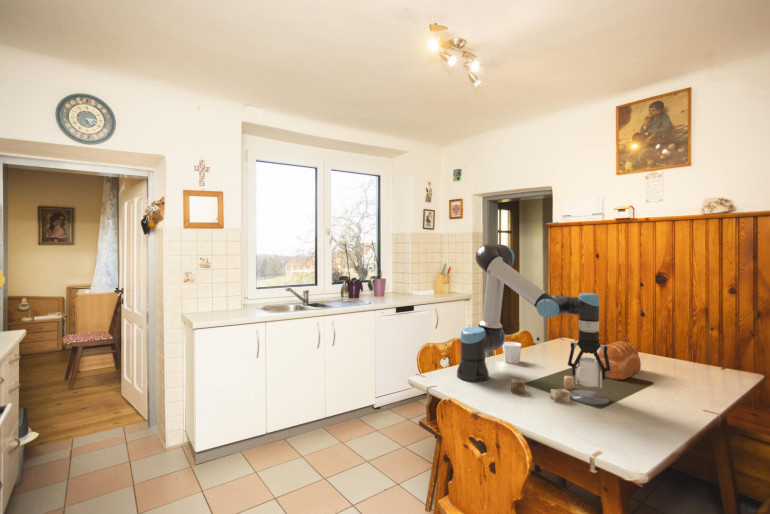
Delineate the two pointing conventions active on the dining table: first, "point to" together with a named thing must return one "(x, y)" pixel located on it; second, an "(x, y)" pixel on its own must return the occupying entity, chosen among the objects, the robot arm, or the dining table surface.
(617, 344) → the bread
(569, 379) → the peach egg shape
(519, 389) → the walnut block
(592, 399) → the gray plate
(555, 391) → the beech block
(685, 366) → the dining table surface
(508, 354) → the cup
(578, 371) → the mug
